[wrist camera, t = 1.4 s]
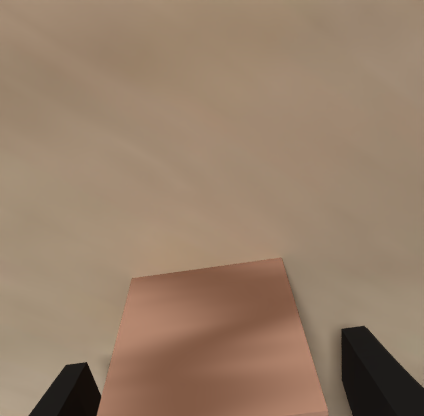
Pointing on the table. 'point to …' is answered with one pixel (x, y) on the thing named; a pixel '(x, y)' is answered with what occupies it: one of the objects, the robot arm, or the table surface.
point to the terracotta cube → (212, 347)
